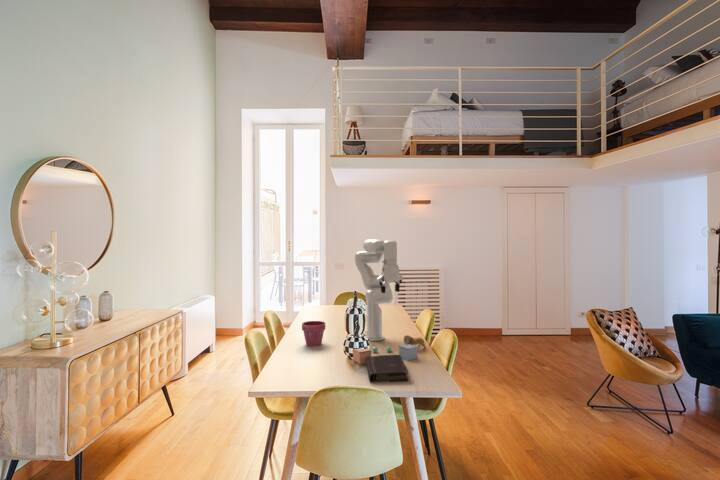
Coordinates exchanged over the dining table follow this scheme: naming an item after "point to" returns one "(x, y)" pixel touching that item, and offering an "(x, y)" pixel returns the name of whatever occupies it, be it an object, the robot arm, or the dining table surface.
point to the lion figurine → (414, 341)
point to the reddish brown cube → (361, 355)
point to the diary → (386, 368)
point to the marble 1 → (375, 349)
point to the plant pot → (313, 332)
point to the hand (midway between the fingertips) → (390, 292)
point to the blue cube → (408, 352)
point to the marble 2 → (389, 349)
